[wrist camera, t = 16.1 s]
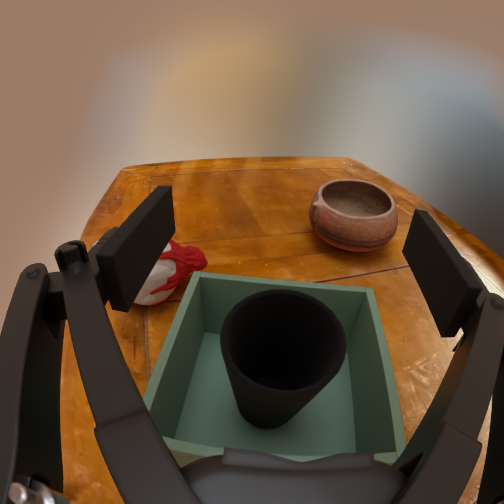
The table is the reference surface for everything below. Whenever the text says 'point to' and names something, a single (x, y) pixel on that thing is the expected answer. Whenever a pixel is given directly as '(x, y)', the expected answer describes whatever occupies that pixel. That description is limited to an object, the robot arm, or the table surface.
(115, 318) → the table surface
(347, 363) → the open storage box
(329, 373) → the cup
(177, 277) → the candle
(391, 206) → the bowl
